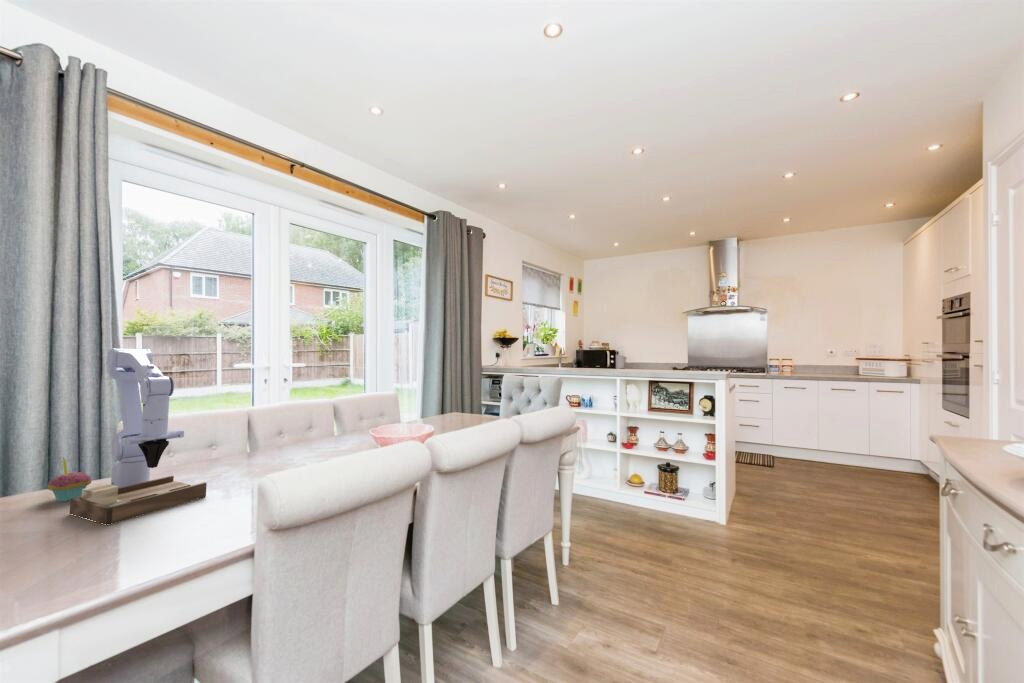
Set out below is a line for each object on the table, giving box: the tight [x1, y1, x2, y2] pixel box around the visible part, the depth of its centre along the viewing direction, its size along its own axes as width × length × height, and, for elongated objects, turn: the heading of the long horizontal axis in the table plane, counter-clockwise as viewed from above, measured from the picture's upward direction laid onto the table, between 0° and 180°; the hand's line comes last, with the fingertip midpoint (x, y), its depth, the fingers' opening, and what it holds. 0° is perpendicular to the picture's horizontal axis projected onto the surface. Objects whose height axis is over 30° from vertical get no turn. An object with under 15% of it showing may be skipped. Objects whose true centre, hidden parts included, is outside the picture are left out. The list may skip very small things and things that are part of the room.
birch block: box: [82, 483, 118, 505], centre depth 108 cm, size 5×5×4 cm
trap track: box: [69, 475, 208, 526], centre depth 114 cm, size 16×23×4 cm
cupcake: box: [47, 457, 93, 502], centre depth 117 cm, size 9×8×12 cm
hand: (152, 467), depth 119 cm, fingers closed
